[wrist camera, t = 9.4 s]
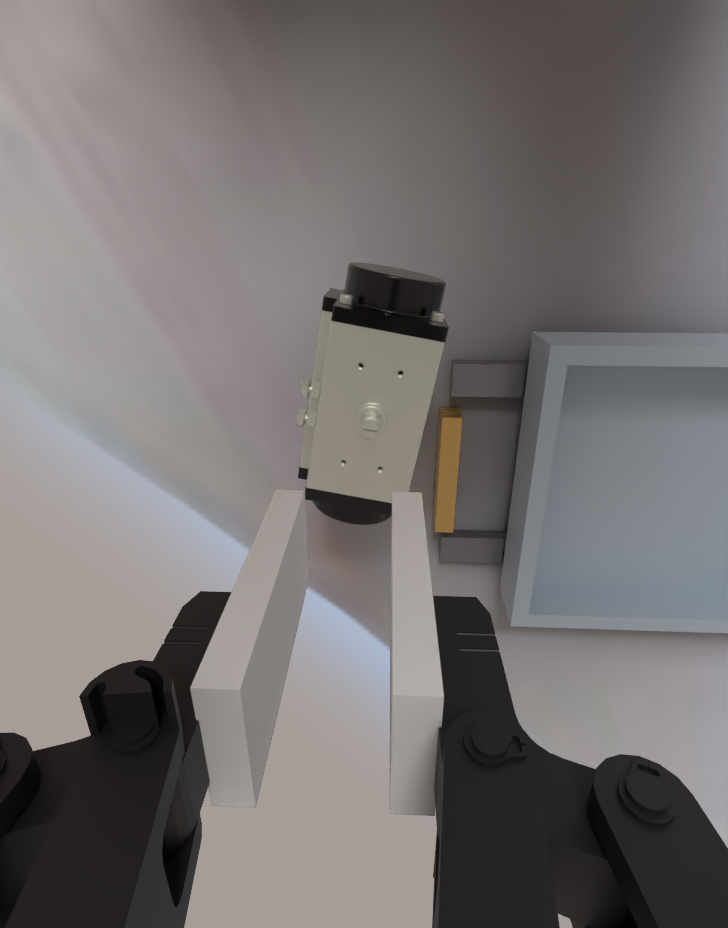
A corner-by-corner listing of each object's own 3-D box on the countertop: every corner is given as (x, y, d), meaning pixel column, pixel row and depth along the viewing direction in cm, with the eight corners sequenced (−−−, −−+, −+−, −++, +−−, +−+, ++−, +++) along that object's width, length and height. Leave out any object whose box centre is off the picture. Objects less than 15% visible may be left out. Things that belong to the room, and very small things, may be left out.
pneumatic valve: (436, 268, 31) (461, 294, 20) (395, 453, 36) (397, 556, 25) (341, 249, 31) (313, 265, 20) (312, 438, 35) (277, 534, 24)
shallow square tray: (532, 331, 31) (550, 345, 27) (860, 334, 30) (922, 349, 26) (499, 589, 38) (510, 626, 35) (762, 597, 37) (800, 635, 34)
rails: (442, 359, 33) (445, 368, 31) (966, 366, 32) (1002, 374, 30) (430, 553, 39) (432, 569, 37) (873, 565, 37) (898, 582, 35)
